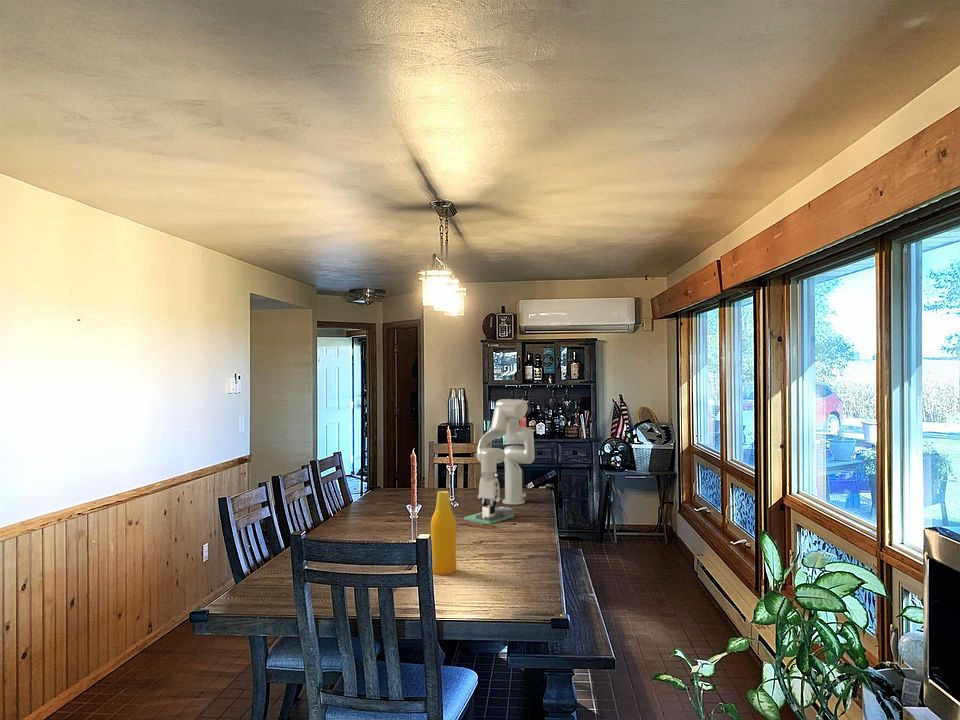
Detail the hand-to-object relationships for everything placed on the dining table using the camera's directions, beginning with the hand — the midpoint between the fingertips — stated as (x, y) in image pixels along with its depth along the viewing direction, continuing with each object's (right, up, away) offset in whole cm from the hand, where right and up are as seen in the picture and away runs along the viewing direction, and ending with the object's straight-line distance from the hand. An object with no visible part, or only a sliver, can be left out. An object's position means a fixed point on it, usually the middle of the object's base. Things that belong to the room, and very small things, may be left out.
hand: (488, 512), depth 314 cm
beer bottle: (-18, -3, -80) cm, 82 cm away
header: (0, -3, 0) cm, 3 cm away
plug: (0, -2, 0) cm, 2 cm away
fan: (+7, -3, +7) cm, 10 cm away
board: (0, -4, +5) cm, 6 cm away
